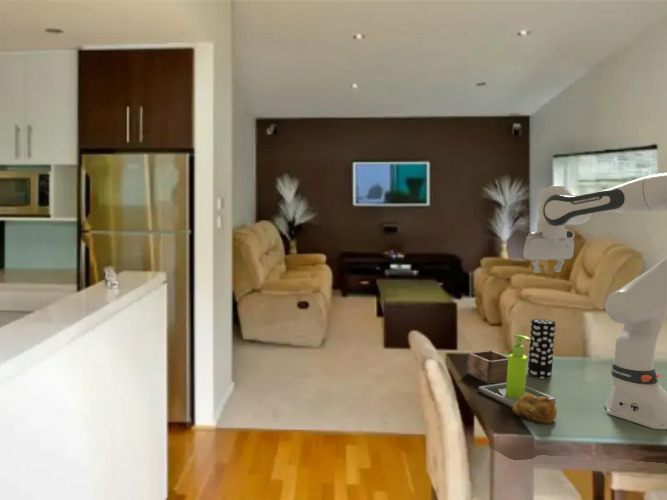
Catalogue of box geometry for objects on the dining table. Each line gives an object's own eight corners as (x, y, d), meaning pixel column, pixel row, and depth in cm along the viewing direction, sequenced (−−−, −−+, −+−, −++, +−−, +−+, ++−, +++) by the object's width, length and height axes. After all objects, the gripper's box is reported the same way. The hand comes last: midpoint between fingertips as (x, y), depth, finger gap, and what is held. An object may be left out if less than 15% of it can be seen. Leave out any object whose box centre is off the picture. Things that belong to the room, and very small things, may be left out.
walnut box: (512, 381, 218) (514, 358, 217) (488, 384, 213) (489, 361, 212) (490, 371, 229) (491, 350, 228) (466, 374, 224) (467, 352, 223)
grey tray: (555, 403, 196) (555, 398, 196) (516, 410, 189) (516, 404, 189) (515, 386, 212) (515, 381, 212) (478, 391, 205) (478, 386, 205)
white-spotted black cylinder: (548, 372, 230) (552, 319, 228) (553, 379, 222) (558, 324, 220) (525, 371, 231) (529, 318, 229) (530, 377, 223) (534, 323, 221)
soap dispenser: (520, 400, 196) (524, 338, 194) (502, 394, 201) (506, 334, 199) (530, 397, 200) (535, 336, 198) (512, 391, 205) (516, 332, 203)
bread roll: (506, 416, 184) (508, 390, 183) (520, 408, 191) (522, 383, 190) (548, 428, 176) (551, 401, 175) (562, 419, 183) (564, 393, 182)
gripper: (533, 233, 205) (531, 274, 207) (578, 233, 215) (575, 272, 216) (520, 231, 211) (517, 271, 213) (564, 231, 220) (561, 270, 222)
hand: (547, 272), depth 214 cm, fingers open, 8 cm apart
